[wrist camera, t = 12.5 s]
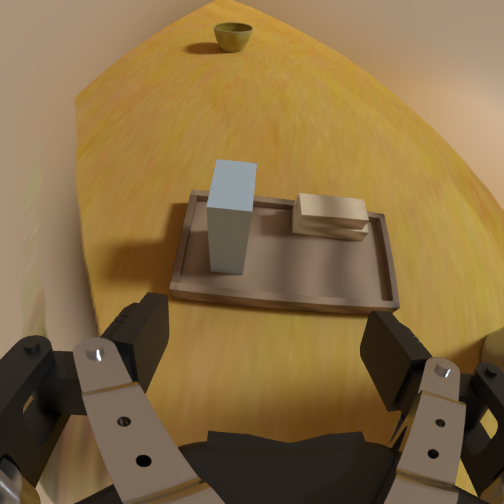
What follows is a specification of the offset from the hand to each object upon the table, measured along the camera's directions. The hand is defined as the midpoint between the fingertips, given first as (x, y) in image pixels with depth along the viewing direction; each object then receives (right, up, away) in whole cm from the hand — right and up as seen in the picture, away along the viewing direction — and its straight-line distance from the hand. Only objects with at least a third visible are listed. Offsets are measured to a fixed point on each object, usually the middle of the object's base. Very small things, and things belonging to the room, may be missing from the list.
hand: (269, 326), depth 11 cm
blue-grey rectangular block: (-3, +3, +21) cm, 22 cm away
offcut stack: (+9, +6, +24) cm, 26 cm away
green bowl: (-6, +56, +53) cm, 78 cm away
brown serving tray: (+4, +2, +23) cm, 24 cm away
